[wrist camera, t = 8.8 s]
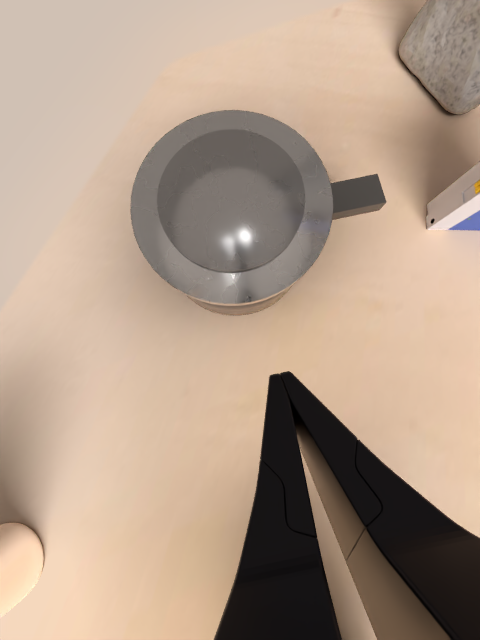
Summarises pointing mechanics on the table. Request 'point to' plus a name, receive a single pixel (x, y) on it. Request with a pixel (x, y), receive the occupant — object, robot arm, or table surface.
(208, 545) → the table surface
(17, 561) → the beer glass
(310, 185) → the cooker lid
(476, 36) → the decorative stone
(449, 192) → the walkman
